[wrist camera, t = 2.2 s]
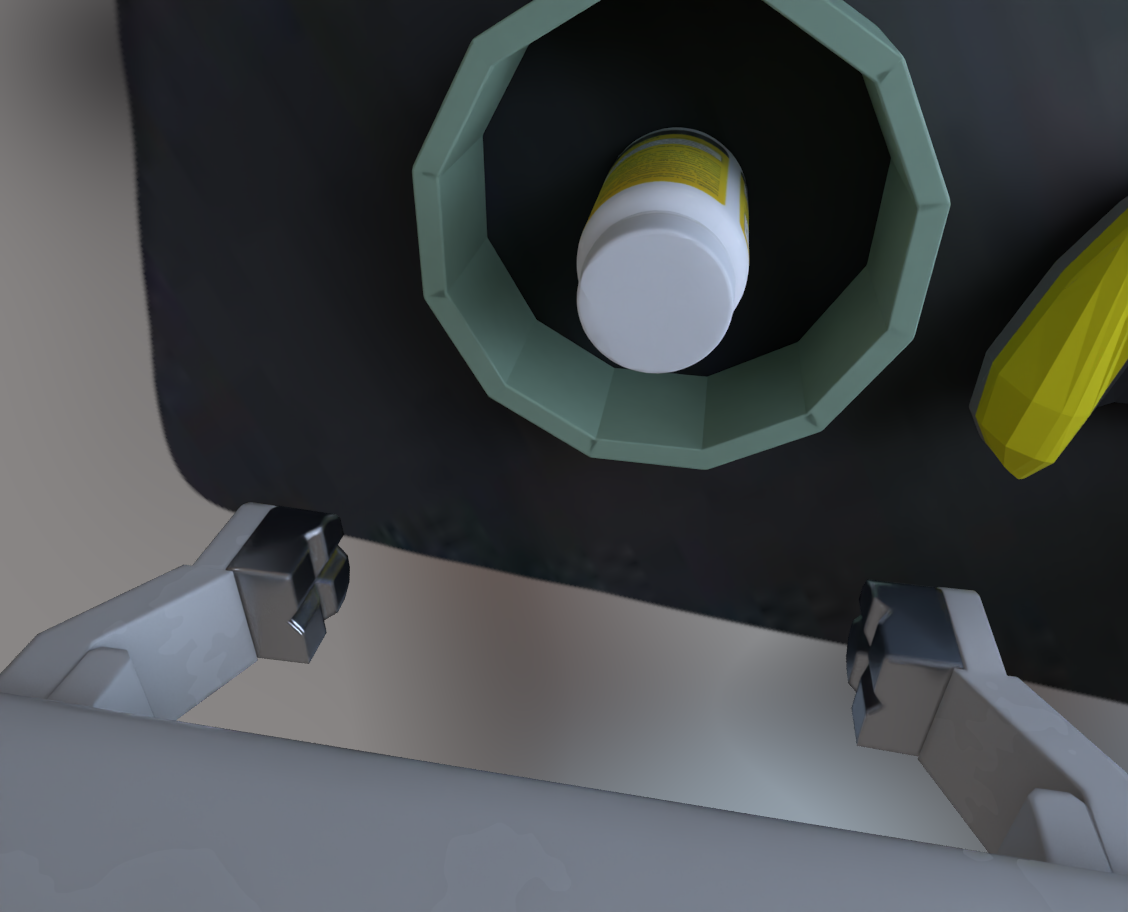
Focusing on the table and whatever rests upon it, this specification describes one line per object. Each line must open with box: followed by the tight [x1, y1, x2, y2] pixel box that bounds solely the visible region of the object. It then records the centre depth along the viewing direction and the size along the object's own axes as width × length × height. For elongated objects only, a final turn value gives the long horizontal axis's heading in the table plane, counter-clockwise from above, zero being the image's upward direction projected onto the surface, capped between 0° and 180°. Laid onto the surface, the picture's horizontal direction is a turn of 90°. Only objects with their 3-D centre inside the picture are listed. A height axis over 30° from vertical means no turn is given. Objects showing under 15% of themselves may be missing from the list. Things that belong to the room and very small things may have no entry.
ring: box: [412, 0, 951, 470], centre depth 26 cm, size 15×15×5 cm
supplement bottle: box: [577, 127, 749, 374], centre depth 24 cm, size 5×5×8 cm
